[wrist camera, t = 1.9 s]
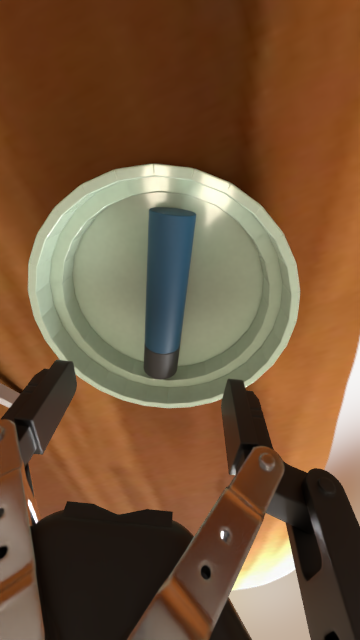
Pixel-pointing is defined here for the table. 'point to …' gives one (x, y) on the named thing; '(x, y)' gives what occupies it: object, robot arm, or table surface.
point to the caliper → (7, 395)
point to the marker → (166, 287)
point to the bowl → (131, 276)
